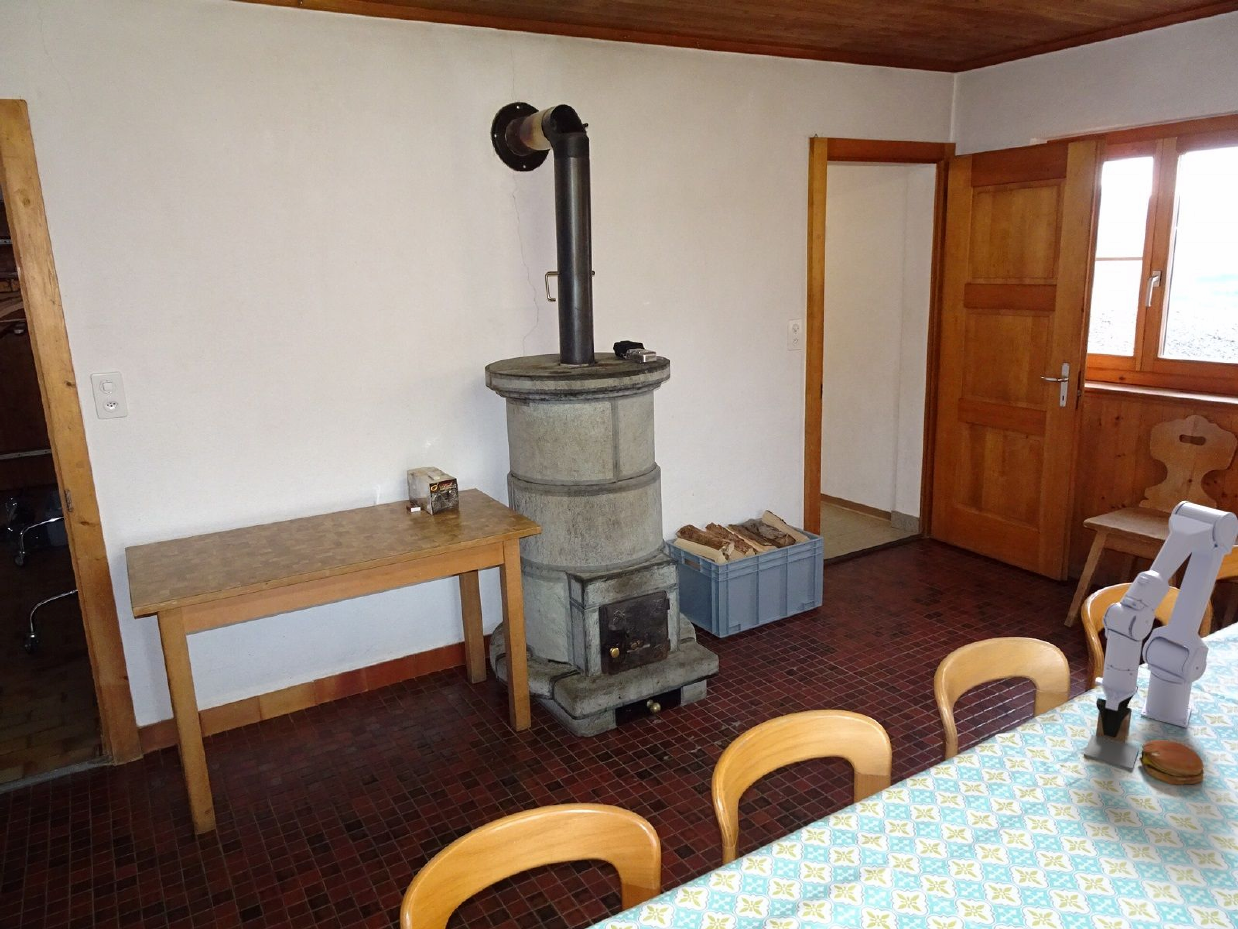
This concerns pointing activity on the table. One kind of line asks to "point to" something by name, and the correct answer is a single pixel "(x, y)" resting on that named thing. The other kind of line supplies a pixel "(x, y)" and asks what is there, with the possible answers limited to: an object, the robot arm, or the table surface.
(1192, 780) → the burger
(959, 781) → the table surface
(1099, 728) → the walnut cube
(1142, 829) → the table surface
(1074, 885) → the table surface
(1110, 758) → the slate coaster
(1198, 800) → the table surface
